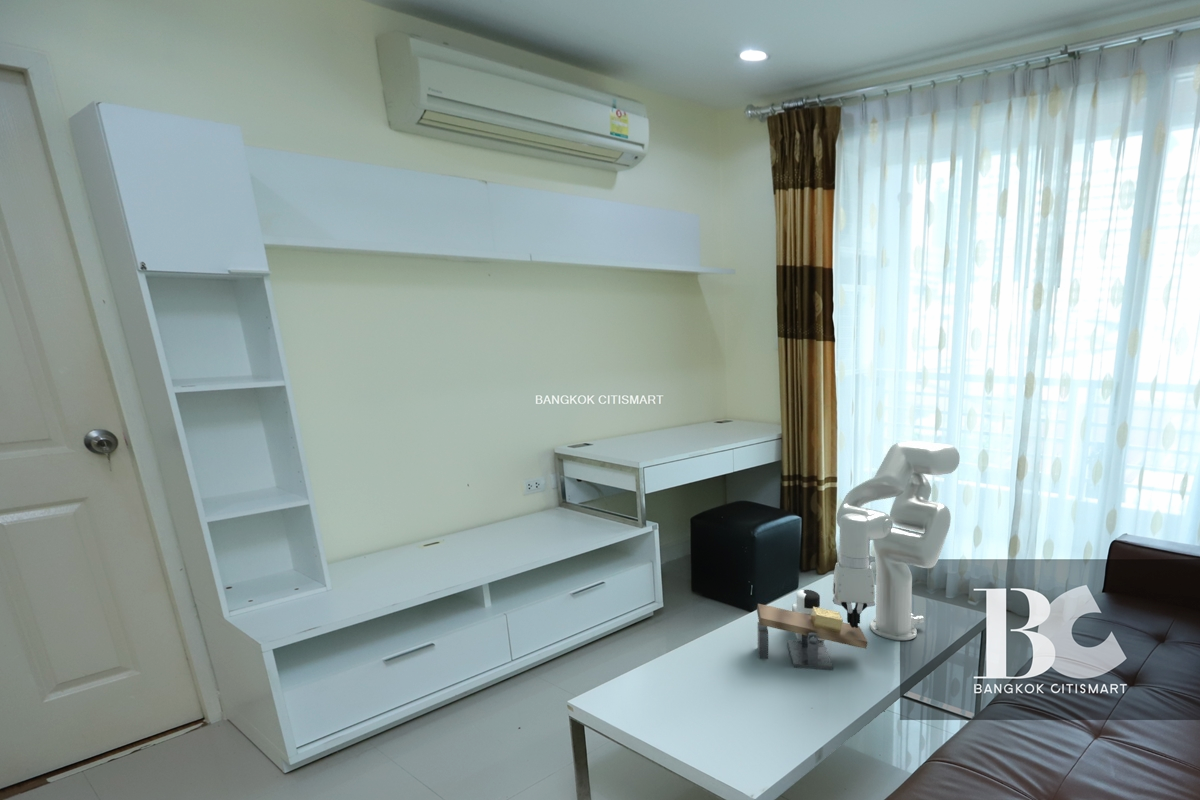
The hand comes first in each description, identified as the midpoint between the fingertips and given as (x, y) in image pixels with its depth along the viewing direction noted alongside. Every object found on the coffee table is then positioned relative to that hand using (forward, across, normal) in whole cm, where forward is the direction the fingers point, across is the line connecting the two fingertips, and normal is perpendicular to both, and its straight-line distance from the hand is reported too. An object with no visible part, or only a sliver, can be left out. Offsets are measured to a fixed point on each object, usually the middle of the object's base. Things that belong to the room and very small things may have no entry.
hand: (853, 625), depth 162 cm
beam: (+2, +12, 0) cm, 12 cm away
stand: (+10, +16, 0) cm, 19 cm away
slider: (0, +7, 0) cm, 7 cm away
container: (+10, +10, -13) cm, 19 cm away
